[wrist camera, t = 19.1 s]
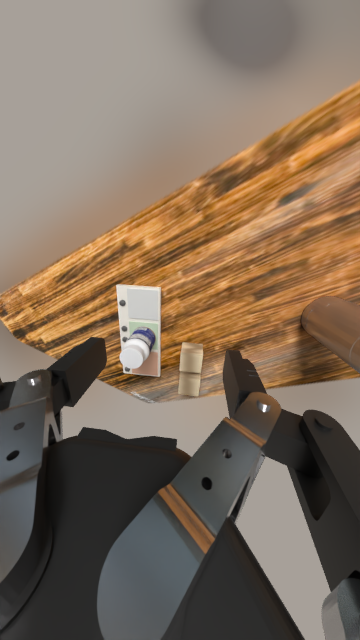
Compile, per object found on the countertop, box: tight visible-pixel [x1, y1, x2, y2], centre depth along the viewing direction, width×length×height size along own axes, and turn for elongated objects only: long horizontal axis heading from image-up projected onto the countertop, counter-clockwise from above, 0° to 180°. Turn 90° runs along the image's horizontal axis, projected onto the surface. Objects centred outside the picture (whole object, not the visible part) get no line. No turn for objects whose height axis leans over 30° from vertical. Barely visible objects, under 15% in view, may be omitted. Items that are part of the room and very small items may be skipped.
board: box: [116, 284, 161, 377], centre depth 45 cm, size 10×24×1 cm, turn 177°
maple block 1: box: [179, 342, 203, 373], centre depth 44 cm, size 5×5×5 cm
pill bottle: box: [120, 326, 156, 369], centre depth 40 cm, size 6×6×10 cm
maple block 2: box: [178, 371, 200, 396], centre depth 47 cm, size 5×5×5 cm
